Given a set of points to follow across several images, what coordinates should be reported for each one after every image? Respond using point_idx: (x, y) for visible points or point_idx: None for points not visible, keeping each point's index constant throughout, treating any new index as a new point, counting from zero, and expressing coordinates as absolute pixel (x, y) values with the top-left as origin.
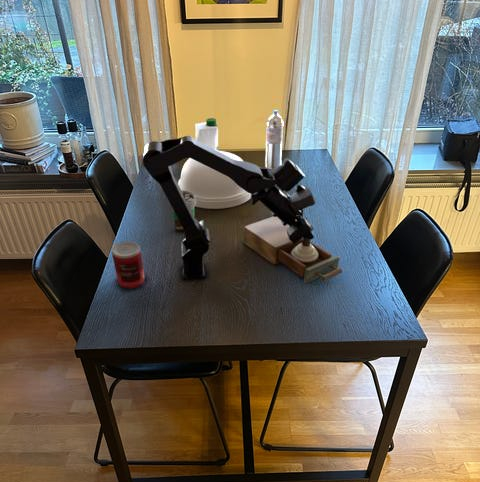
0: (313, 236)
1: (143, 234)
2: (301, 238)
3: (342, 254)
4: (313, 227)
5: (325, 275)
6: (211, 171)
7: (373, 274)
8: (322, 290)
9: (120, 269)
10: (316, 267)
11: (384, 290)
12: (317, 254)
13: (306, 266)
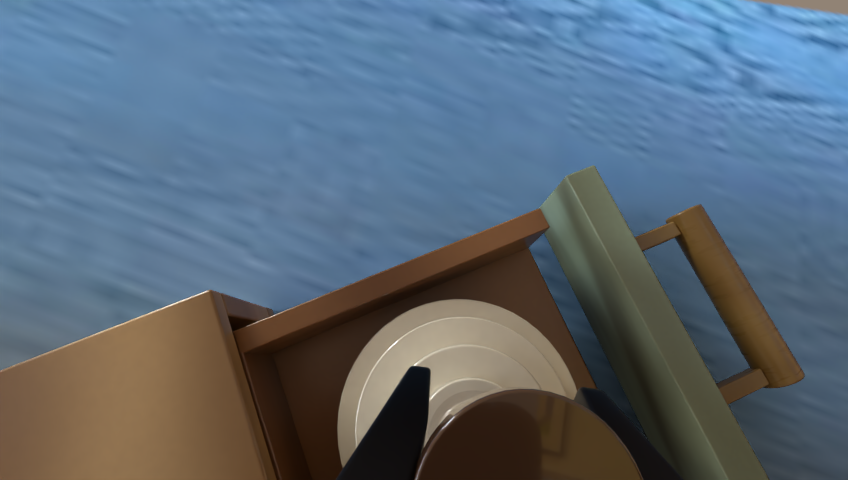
0: (618, 410)
1: None
2: (246, 387)
3: (376, 108)
4: (553, 393)
5: (781, 357)
6: None
7: (606, 36)
8: None
9: None
10: (731, 412)
11: (752, 47)
12: (501, 315)
13: None
